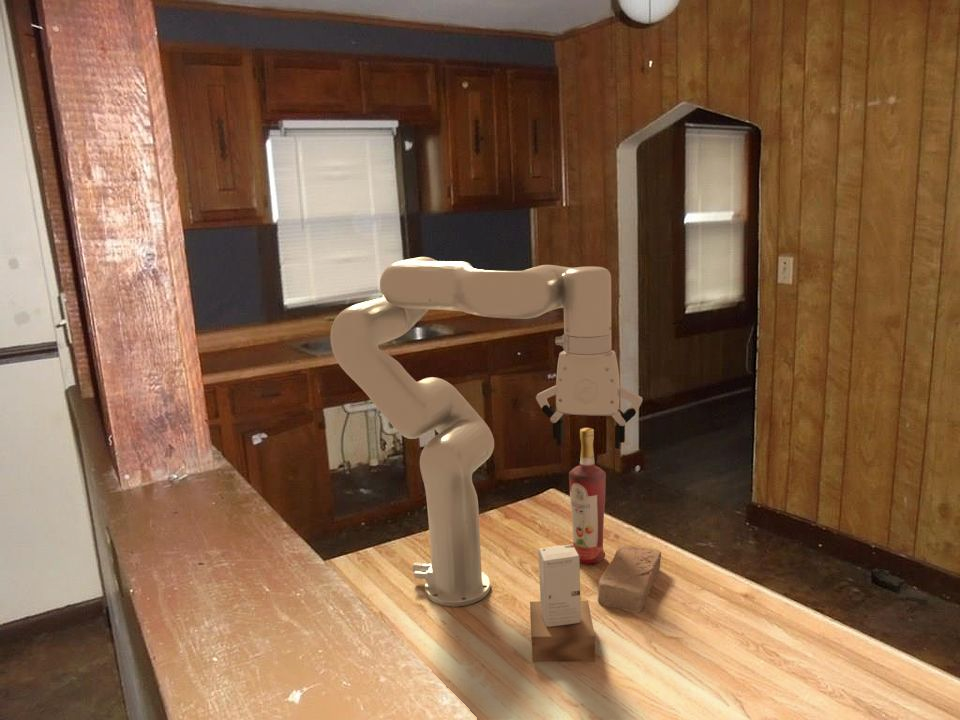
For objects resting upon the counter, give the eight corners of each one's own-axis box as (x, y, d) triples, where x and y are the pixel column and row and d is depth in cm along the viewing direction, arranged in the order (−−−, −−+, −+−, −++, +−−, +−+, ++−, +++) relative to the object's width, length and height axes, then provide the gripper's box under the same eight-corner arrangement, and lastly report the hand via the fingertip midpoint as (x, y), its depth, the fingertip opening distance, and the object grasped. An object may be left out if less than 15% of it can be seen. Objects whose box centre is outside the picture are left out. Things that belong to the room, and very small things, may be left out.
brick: (641, 615, 124) (641, 591, 123) (595, 605, 128) (595, 581, 127) (661, 570, 138) (662, 549, 137) (620, 562, 142) (620, 541, 141)
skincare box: (546, 628, 113) (542, 561, 110) (540, 612, 118) (536, 547, 115) (583, 622, 114) (580, 556, 111) (575, 607, 118) (572, 542, 115)
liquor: (613, 558, 143) (612, 428, 137) (593, 572, 138) (592, 438, 132) (583, 547, 148) (581, 421, 142) (563, 561, 143) (560, 431, 136)
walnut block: (532, 664, 112) (531, 636, 111) (530, 627, 122) (530, 601, 121) (595, 663, 112) (594, 635, 111) (588, 626, 122) (587, 600, 120)
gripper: (530, 348, 111) (533, 449, 115) (641, 350, 107) (640, 455, 110) (539, 339, 118) (542, 434, 122) (644, 340, 114) (643, 439, 117)
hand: (588, 444), depth 116 cm, fingers open, 9 cm apart
